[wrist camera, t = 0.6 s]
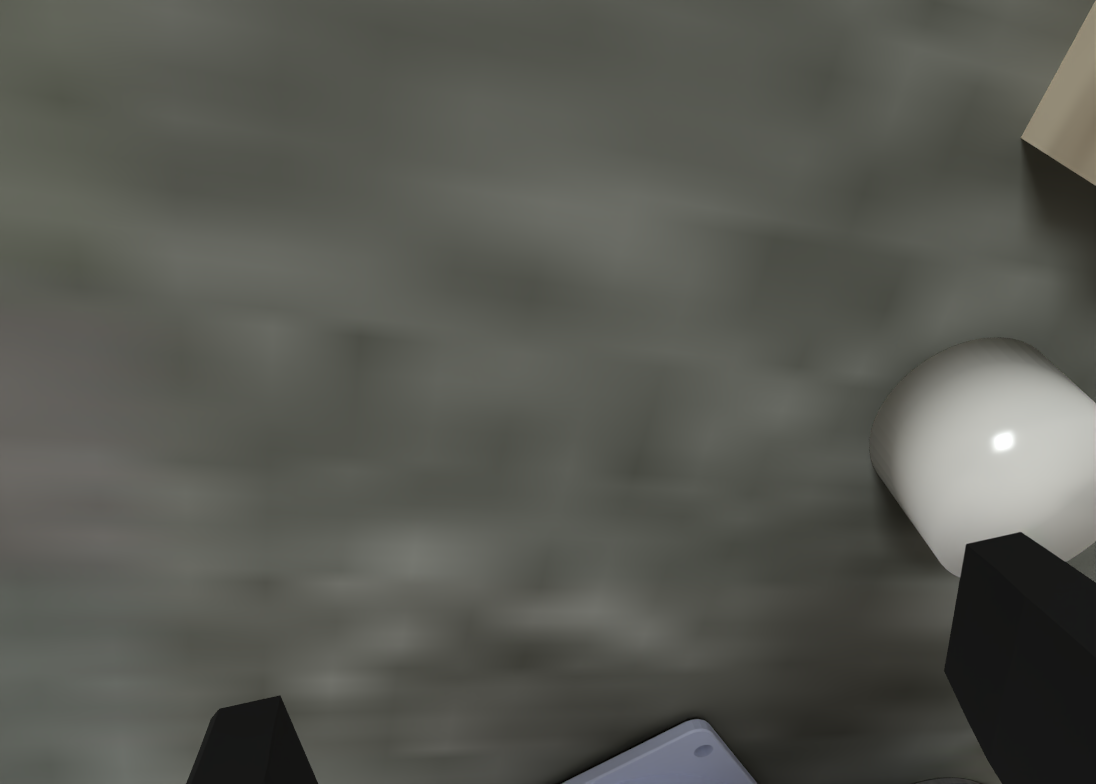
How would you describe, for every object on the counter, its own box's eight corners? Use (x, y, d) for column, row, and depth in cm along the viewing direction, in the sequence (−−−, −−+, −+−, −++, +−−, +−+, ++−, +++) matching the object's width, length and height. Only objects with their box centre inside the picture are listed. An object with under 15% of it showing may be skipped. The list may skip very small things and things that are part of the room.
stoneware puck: (1069, 434, 24) (1153, 519, 21) (899, 521, 24) (962, 613, 22) (1030, 299, 21) (1121, 378, 19) (842, 401, 22) (906, 490, 19)
